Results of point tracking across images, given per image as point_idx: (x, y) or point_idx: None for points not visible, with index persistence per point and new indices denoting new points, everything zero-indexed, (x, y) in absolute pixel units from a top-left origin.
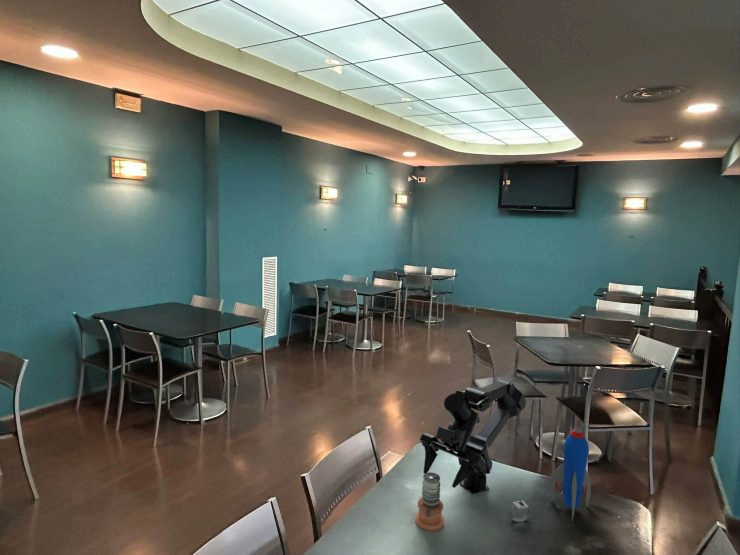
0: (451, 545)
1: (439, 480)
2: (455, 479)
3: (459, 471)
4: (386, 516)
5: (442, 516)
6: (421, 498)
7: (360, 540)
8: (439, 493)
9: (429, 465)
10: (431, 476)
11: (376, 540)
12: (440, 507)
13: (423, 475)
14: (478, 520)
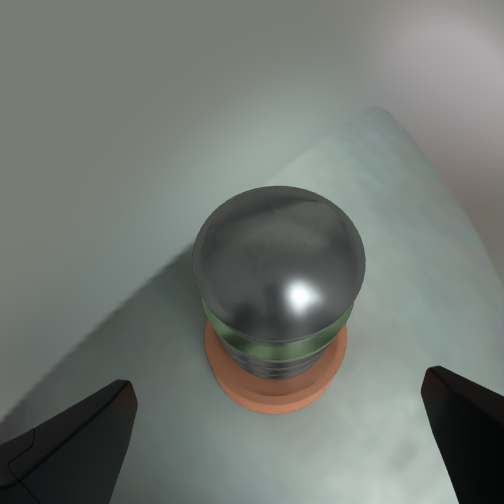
0: (142, 302)
1: (194, 276)
2: (91, 407)
3: (34, 451)
4: (400, 257)
5: (241, 401)
6: (343, 337)
7: (352, 148)
8: (237, 359)
9: (457, 445)
10: (286, 256)
11: (328, 169)
12: (218, 349)
13: (349, 219)
14: (132, 491)
